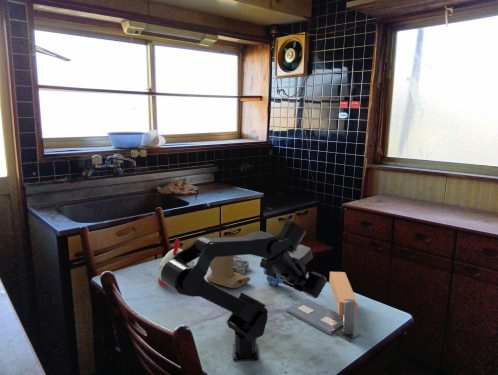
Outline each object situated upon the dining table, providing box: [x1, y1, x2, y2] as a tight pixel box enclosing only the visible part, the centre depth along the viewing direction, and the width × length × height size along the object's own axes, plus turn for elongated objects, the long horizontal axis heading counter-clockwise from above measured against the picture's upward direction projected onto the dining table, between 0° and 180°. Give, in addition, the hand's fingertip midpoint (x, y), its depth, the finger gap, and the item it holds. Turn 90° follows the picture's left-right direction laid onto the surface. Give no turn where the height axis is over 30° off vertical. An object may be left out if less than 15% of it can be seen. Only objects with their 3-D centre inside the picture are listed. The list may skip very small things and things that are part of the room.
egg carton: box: [233, 256, 251, 275], centre depth 151 cm, size 11×8×4 cm
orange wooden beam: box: [328, 271, 358, 334], centre depth 116 cm, size 24×5×9 cm, turn 176°
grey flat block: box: [334, 328, 361, 343], centre depth 107 cm, size 5×5×1 cm
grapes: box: [262, 268, 283, 286], centre depth 137 cm, size 12×7×12 cm, turn 44°
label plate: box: [285, 298, 343, 336], centre depth 116 cm, size 17×10×1 cm, turn 41°
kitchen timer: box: [157, 238, 196, 288], centre depth 141 cm, size 14×14×15 cm
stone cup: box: [206, 256, 251, 289], centre depth 137 cm, size 15×12×15 cm
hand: (307, 289), depth 112 cm, fingers closed
